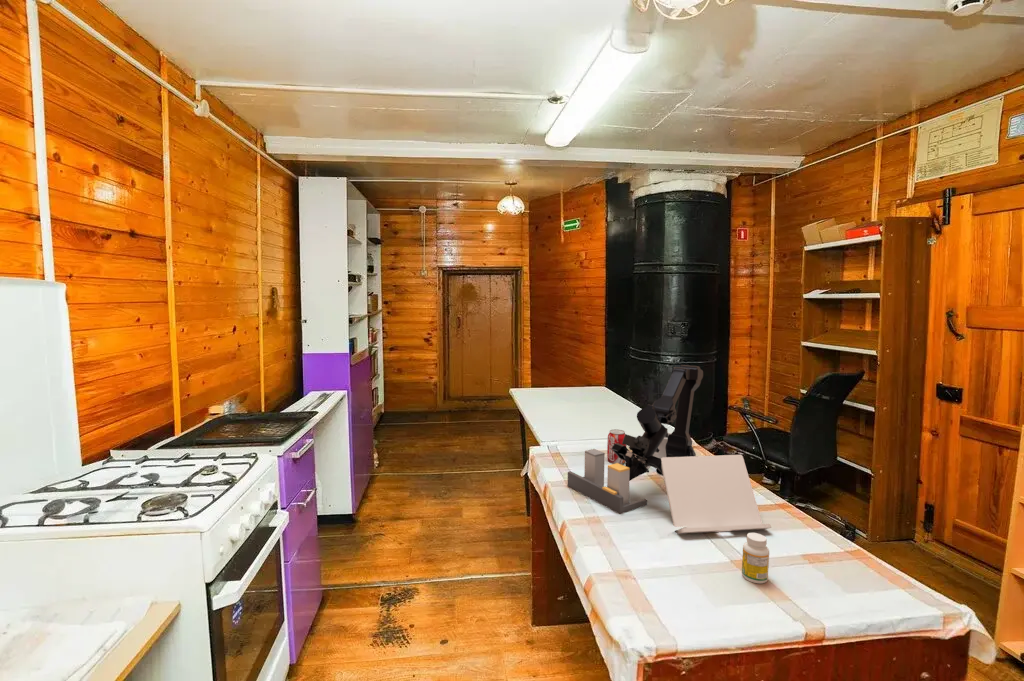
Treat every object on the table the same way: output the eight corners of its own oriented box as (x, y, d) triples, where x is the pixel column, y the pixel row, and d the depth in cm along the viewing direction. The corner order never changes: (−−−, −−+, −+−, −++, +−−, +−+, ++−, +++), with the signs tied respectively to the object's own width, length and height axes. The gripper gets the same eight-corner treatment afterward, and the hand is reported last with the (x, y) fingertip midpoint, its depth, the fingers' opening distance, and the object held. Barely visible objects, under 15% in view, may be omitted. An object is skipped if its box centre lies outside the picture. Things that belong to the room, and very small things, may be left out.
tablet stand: (655, 510, 146) (656, 454, 144) (734, 506, 148) (737, 451, 147) (682, 540, 128) (684, 477, 126) (772, 535, 130) (775, 473, 129)
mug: (673, 456, 192) (674, 432, 191) (678, 465, 183) (679, 438, 182) (641, 455, 193) (641, 431, 192) (645, 463, 184) (645, 438, 183)
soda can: (626, 466, 182) (627, 434, 181) (607, 464, 183) (607, 433, 182) (625, 459, 189) (626, 429, 188) (607, 458, 190) (607, 428, 189)
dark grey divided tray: (593, 482, 166) (593, 463, 165) (646, 509, 146) (647, 487, 145) (567, 489, 160) (567, 470, 160) (619, 518, 140) (620, 496, 139)
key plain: (593, 482, 163) (594, 448, 162) (603, 487, 159) (604, 452, 157) (584, 485, 161) (584, 450, 160) (594, 490, 156) (595, 455, 155)
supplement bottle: (764, 587, 107) (766, 545, 106) (738, 578, 111) (740, 537, 110) (770, 576, 111) (772, 536, 110) (745, 567, 115) (747, 528, 114)
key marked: (616, 499, 149) (617, 462, 148) (628, 505, 145) (629, 467, 144) (607, 502, 147) (607, 465, 146) (618, 508, 143) (619, 470, 142)
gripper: (616, 418, 156) (589, 457, 151) (662, 432, 140) (633, 476, 135) (633, 438, 161) (607, 477, 156) (680, 454, 145) (652, 498, 140)
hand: (624, 481), depth 147 cm, fingers closed, pressing on key marked
